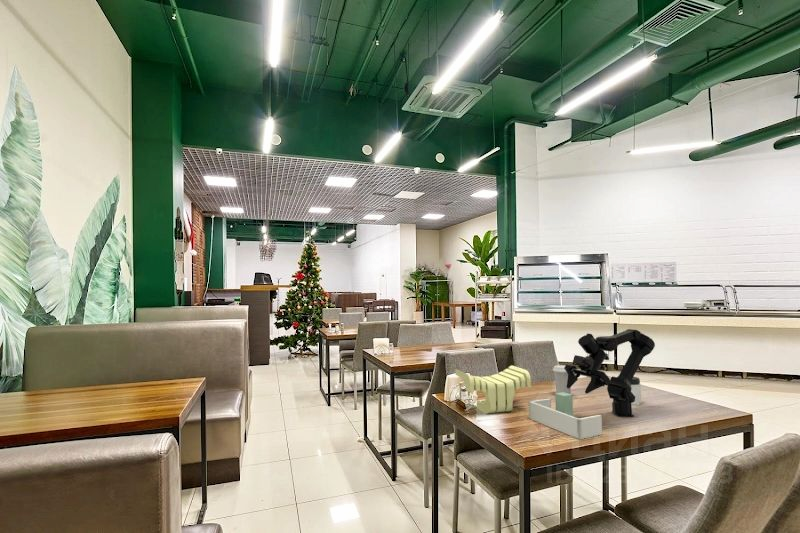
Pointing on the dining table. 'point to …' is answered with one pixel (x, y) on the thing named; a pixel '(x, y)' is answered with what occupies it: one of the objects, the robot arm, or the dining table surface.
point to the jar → (636, 390)
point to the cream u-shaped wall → (565, 420)
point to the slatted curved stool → (497, 388)
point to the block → (564, 403)
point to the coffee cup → (561, 379)
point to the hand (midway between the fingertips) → (576, 390)
